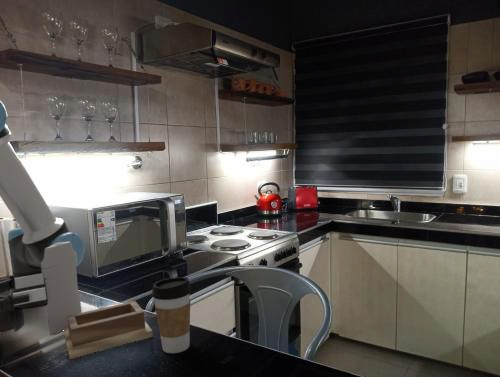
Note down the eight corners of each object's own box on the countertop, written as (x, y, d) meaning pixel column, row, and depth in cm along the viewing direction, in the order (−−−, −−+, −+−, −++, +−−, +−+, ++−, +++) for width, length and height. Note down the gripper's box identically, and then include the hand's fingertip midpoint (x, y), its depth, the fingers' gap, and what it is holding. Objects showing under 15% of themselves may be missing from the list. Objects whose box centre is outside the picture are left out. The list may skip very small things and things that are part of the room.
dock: (64, 335, 99) (61, 313, 99) (138, 317, 108) (136, 296, 108) (69, 359, 87) (67, 335, 87) (152, 336, 96) (150, 314, 95)
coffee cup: (187, 357, 85) (182, 287, 84) (150, 355, 87) (144, 287, 86) (200, 338, 93) (195, 275, 92) (165, 337, 95) (160, 274, 94)
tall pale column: (77, 317, 110) (68, 237, 108) (88, 319, 108) (80, 238, 106) (43, 335, 100) (33, 247, 98) (55, 337, 99) (45, 248, 96)
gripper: (-51, 304, 102) (44, 286, 112) (-72, 343, 80) (48, 316, 90) (-55, 275, 101) (41, 259, 111) (-77, 306, 79) (44, 284, 89)
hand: (44, 285), depth 101 cm, fingers open, 13 cm apart
